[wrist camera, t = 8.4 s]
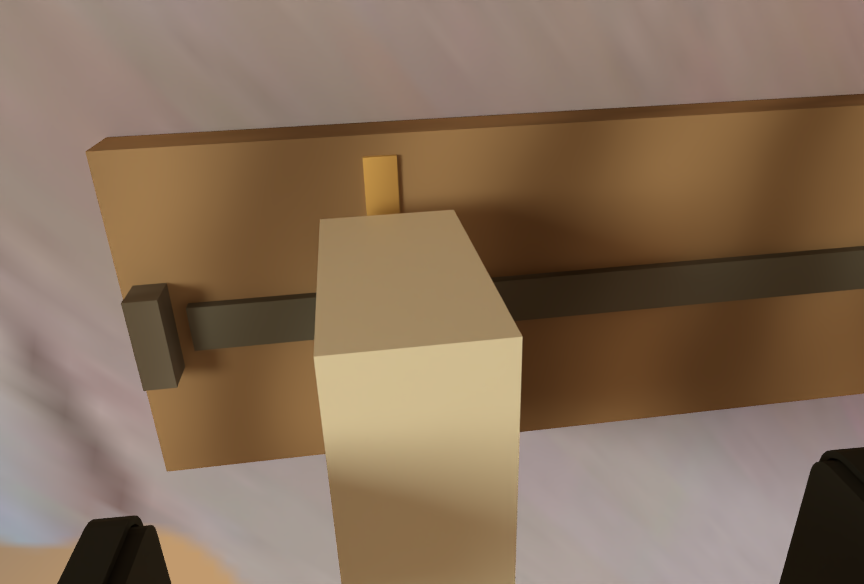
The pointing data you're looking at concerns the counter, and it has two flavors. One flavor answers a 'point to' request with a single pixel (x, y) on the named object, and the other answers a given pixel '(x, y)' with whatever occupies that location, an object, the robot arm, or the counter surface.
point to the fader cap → (417, 402)
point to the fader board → (502, 258)
